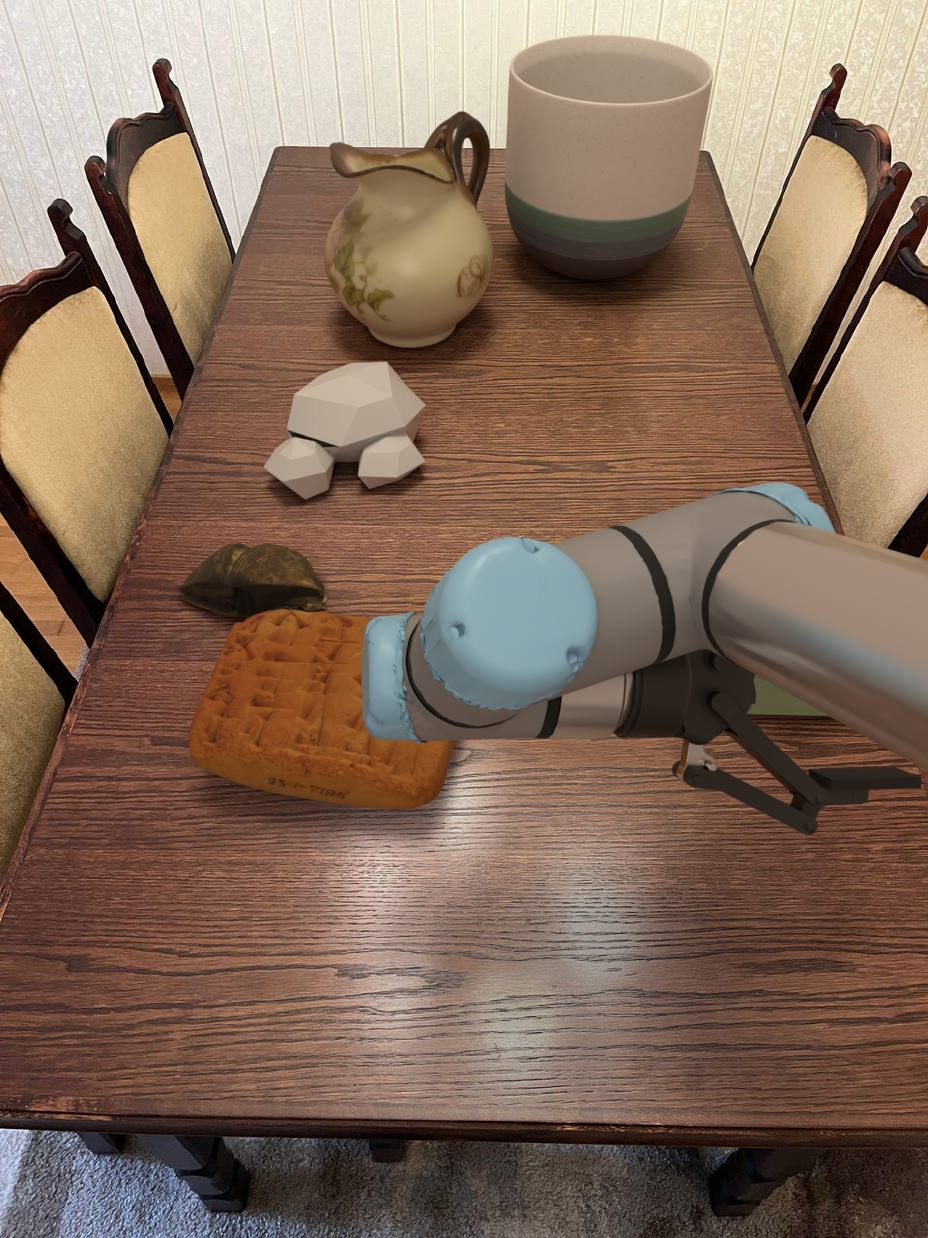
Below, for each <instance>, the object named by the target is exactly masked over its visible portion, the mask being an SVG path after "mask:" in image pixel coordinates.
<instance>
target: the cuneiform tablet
mask: <svg viewBox="0 0 928 1238" xmlns="http://www.w3.org/2000/svg"><path fill="white" fill-rule="evenodd" d="M370 621H371V620H370V619H369V618H367V617H362V616H357V615H350V614H336V613H331V612H328V611H324V610H323V611H321V610H320V611H317V612H304V611H299V610H286V609H280V610H274V611H266V612H263V613H260V614H256V615H254V616H252V617H251V618H248V619H245V620H244V621H242V622H239V621H237V622H236V623H234V624H233V626H232V627H231V629H230V631H229V632H228V635H227V637H226V640H225V642H224V645H223V648H222V649H221V652H220V653H219V656H218V657H217V661H216V662H215V665H214V667H213V669H212V673H211V675H210V678H209V680H208V682H207V684H206V686H205V690H204V691H203V693H202V695H201V697H200V698H199V702H198V704H197V707H196V709H195V713H194V715H193V717H192V719H191V722H190V725H189V730H188V738H187V746H188V748H189V751H190V757H191V759H192V762H193V763H194V764H195V765H196V766H198V767H199V768H200V769H201V770H203V771H205V772H208V773H210V774H212V775H216V776H218V777H221V778H223V779H225V780H228V781H230V782H232V783H236V784H239V785H241V786H242V785H243V786H246V787H250V788H253V789H257V790H261V791H265V792H269V793H272V794H278V795H283V796H287V797H288V796H289V797H293V798H299V799H303V800H311V801H317V802H323V803H329V804H337V805H344V806H351V807H357V808H358V807H359V808H365V809H373V810H374V809H375V810H415V809H418V808H421V807H425V806H427V805H429V804H430V803H433V802H434V801H435V800H436V799H438V797H439V796H440V794H441V792H442V790H443V788H444V786H445V783H446V780H447V775H448V771H449V768H450V763H451V760H452V756H453V752H454V748H455V745H456V743H457V740H444V741H428V742H427V743H424V744H417V743H416V742H414V741H399V740H380V739H377V738H374V737H373V736H371V735H370V734H369V732H368V731H367V729H366V727H365V724H364V719H363V710H362V650H363V638H364V632H365V629H366V626H367V624H368V623H369V622H370Z"/></svg>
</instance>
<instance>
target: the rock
mask: <svg viewBox="0 0 928 1238" xmlns="http://www.w3.org/2000/svg"><path fill="white" fill-rule="evenodd" d="M425 408H426V404H425V402H423V400H422V399H421V398H420V397H418V395H417V394H416V393H415V392H414V391H413V390H411V389H410V387H409V386H408V385H406V383H405V382H404V381H403V379H402V378H401V377H400V376H399V375H398V373H397V372H396V371H395V369H394V368H393V367H392V366H391V365H390V364H389V362H388V361H365V362H364V361H363V362H350V363H347V364H345V365H342V366H340V367H337V368H334V369H331V370H328V371H327V372H324V373H321V374H320V375H318V376H317V377H315V378H314V379H313V380H311V381H310V382H309V383H307V384H306V385H305V386H303V387H302V388H301V389H300V390H298V391H297V392H295V393H294V394H293V398H292V402H291V407H290V411H289V416H288V422H287V426H286V432H287V434H288V437H289V438H288V439H285V440H284V441H283V442H281V443H280V444H279V445H278V446H277V447H275V449H274V450H273V451H272V452H271V454H270V456H269V457H268V459H267V460H266V462H265V464H264V466H263V469H264V470H266V471H267V472H268V473H270V474H271V475H272V476H273V477H274V478H276V479H277V480H278V481H280V483H282V484H283V485H284V486H286V487H287V488H288V489H289V490H291V491H292V492H294V493H296V495H298V496H299V497H301V498H303V499H304V500H308V499H310V498H312V497H314V496H317V495H320V494H322V493H324V492H326V491H329V489H330V485H331V480H332V476H333V472H334V471H333V470H334V467H335V466H334V465H335V463H352V462H353V463H355V462H358V471H357V477H358V478H359V479H360V481H362V482H363V483H364V485H365V486H366V487H367V489H369V490H371V489H374V488H378V487H381V486H385V485H388V484H392V483H396V482H399V481H401V480H402V479H404V478H406V476H408V475H409V474H411V473H412V472H413V471H415V470H416V469H417V468H419V467H420V466H422V465H423V464H424V463H425V462H426V459H425V457H423V455H422V454H421V452H420V451H419V450H418V448H417V446H416V445H415V444H414V441H415V439H416V437H417V432H418V431H419V430H418V429H419V426H420V423H421V420H422V418H423V414H424V411H425Z"/></svg>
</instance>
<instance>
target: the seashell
mask: <svg viewBox="0 0 928 1238" xmlns="http://www.w3.org/2000/svg"><path fill="white" fill-rule="evenodd" d="M325 587H326V586H325V585H324V584H323V582H321V581H320V578H319V577H317V575H316V571H315V568H314V567H313V565H312V564H311V563H310V561H308V559H307V557H305V556H304V555H302V554H301V553H299V552H298V551H296V550H295V549H292V548H289V547H287V546H284V545H279V544H275V543H261V544H257V545H254V546H252V547H250V546H248V545H247V544H244V543H241V542H240V543H239V542H232V543H229V544H226V545H224V546H223V547H221V548H219V549H217V550H215V551H213V552H212V553H210V554H209V555H208V556H207V557H206V558H205V559H204V560H203V561H201V562H200V564H198V566H197V567H196V568H194V569H193V571H192V572H191V573H190V574H189V575H188V577H187V578H186V579H185V580H184V581H183V583H182V585H181V586H180V588H179V590H180V593H181V594H182V597H181V600H182V601H184V602H187V603H190V604H191V605H195V606H197V607H200V608H202V609H205V610H208V611H209V612H212V613H214V614H217V615H221V616H225V617H228V618H243V619H245V620H247V619H248V618H251V617H252V616H254V615H256V614H260V613H263V612H266V611H274V610H280V609H286V610H299V611H304V612H319V611H321V610H322V609H326V606H325V605H326V603H328V594H327V593H326V588H325Z"/></svg>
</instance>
